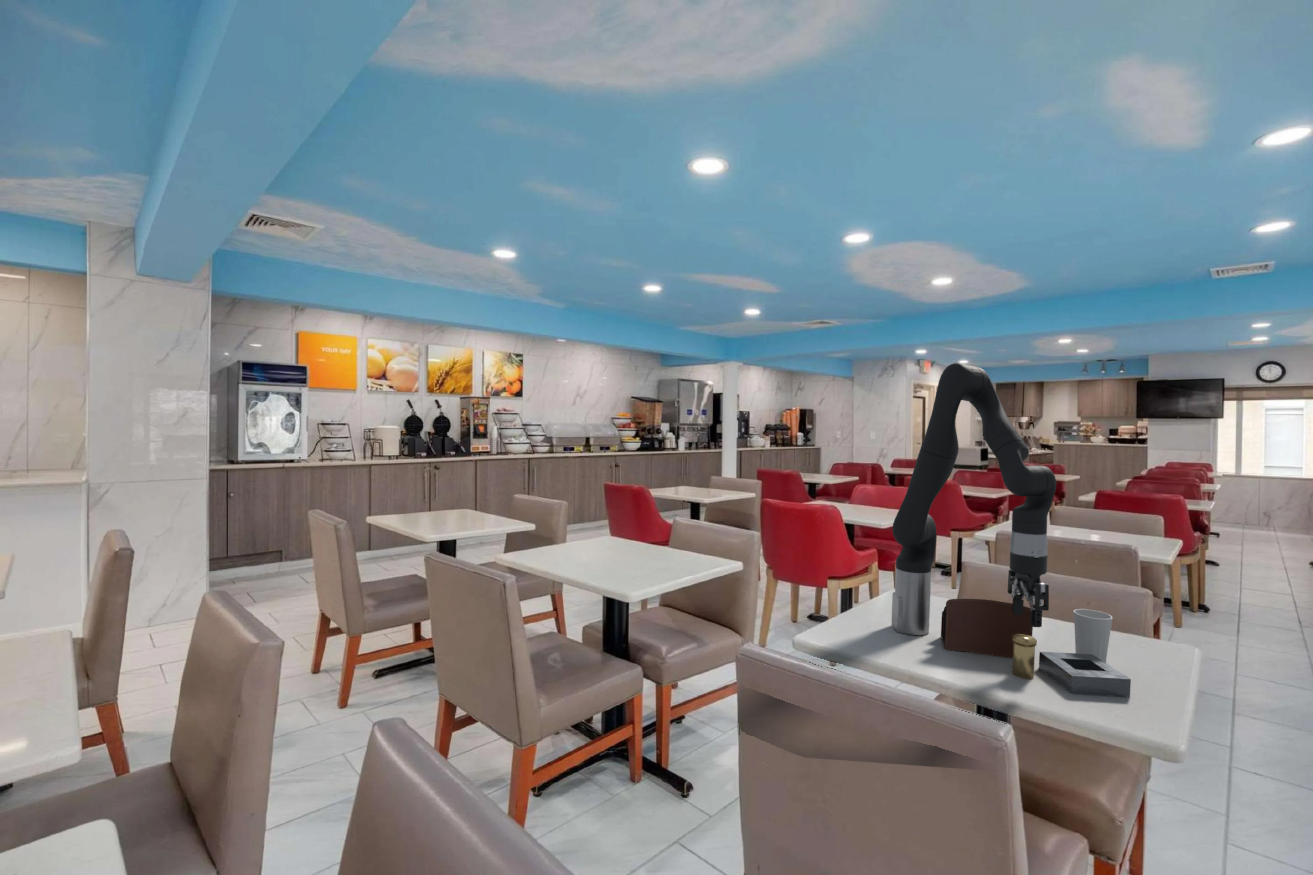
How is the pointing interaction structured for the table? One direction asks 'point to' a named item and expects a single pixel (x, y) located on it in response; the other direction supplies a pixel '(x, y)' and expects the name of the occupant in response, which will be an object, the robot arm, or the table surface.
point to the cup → (1092, 632)
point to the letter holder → (982, 626)
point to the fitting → (1023, 656)
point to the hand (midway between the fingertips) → (1026, 620)
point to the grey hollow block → (1084, 674)
